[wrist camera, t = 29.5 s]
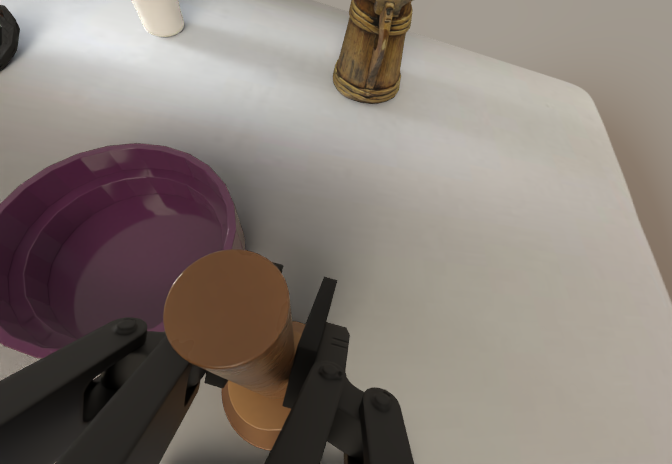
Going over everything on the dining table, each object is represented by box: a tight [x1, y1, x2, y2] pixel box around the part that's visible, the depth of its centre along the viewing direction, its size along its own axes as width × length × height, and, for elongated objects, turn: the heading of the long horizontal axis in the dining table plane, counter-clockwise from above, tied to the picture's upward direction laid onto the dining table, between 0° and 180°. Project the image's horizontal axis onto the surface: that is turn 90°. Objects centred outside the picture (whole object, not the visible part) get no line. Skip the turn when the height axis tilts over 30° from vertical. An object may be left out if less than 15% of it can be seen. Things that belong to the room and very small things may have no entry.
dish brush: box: [163, 249, 302, 431], centre depth 14 cm, size 5×5×18 cm
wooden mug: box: [333, 0, 413, 104], centre depth 35 cm, size 9×14×18 cm, turn 176°
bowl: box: [0, 143, 246, 359], centre depth 26 cm, size 17×17×6 cm
